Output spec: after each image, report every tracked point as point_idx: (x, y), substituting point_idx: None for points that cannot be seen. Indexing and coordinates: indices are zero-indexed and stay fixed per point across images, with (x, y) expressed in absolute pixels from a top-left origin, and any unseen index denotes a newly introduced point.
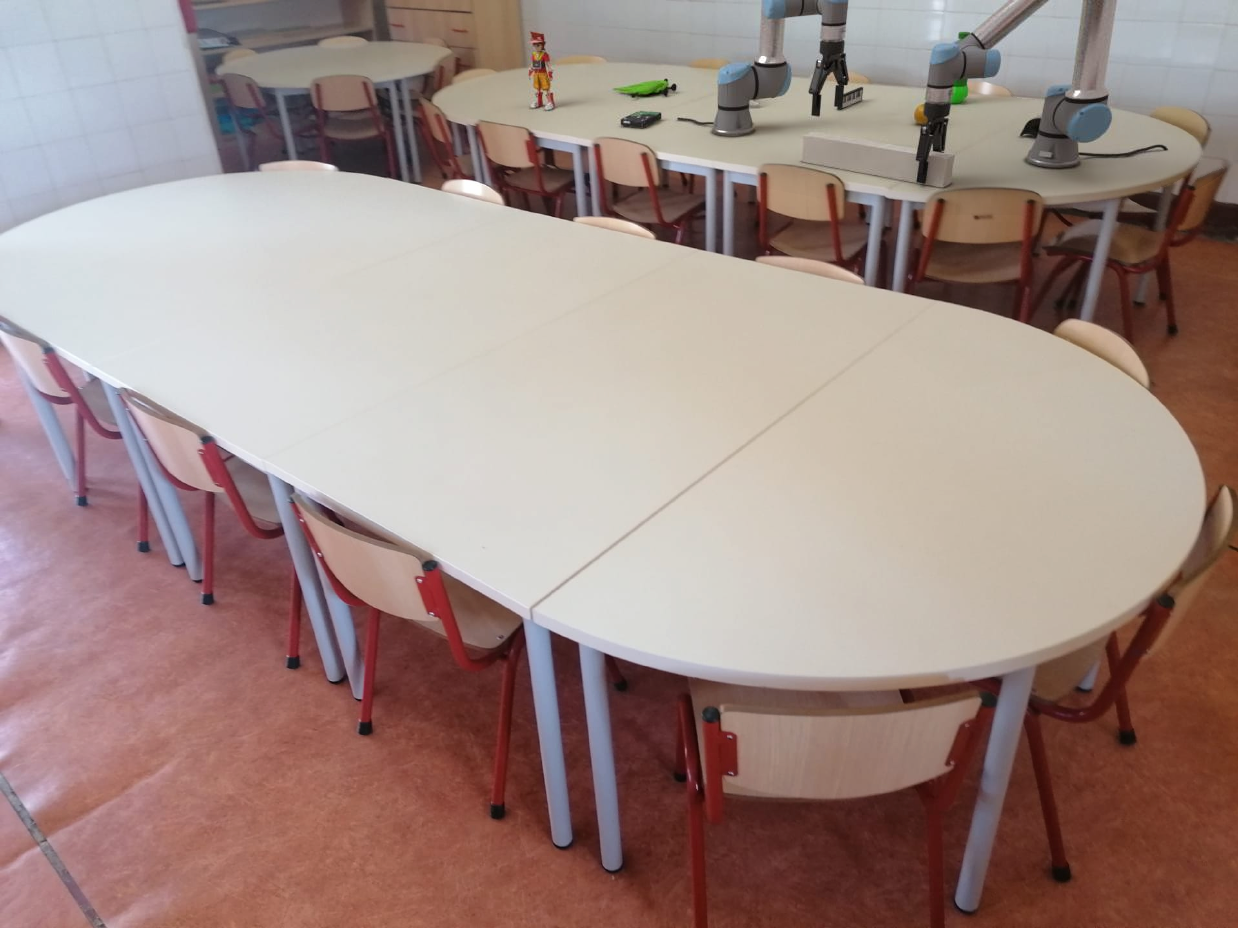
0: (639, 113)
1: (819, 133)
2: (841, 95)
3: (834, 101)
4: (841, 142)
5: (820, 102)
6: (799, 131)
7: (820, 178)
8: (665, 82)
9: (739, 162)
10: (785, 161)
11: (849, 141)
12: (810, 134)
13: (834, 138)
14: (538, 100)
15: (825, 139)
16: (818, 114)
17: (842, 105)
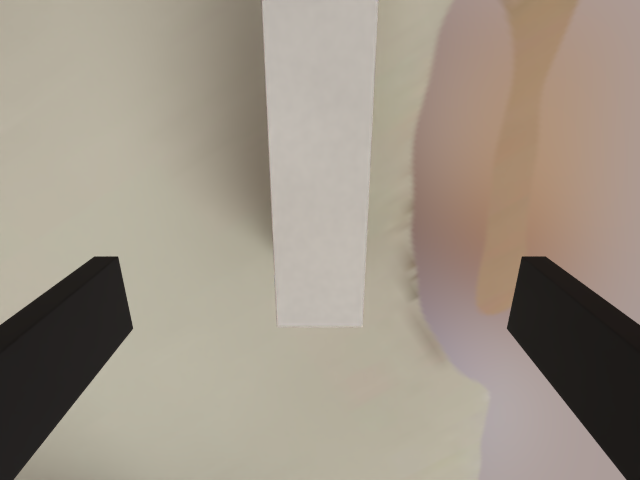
0: None
1: (286, 276)
2: (39, 333)
3: (108, 358)
4: (375, 58)
5: (629, 336)
6: (31, 459)
7: (534, 64)
8: None
9: (466, 428)
10: (377, 317)
11: (350, 2)
12: (333, 305)
13: (337, 141)
14: None
15: (368, 187)
16: (555, 269)
17: (85, 264)
